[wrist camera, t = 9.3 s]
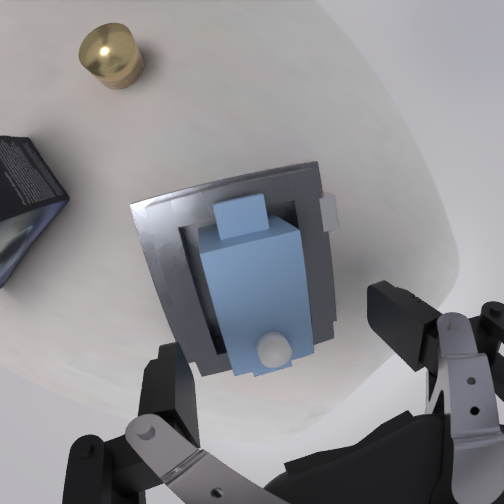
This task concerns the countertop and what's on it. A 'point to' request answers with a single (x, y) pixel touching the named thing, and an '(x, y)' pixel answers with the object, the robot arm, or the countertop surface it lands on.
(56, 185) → the small box
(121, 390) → the countertop surface
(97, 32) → the cylinder
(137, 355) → the countertop surface
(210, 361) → the frame
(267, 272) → the servo
